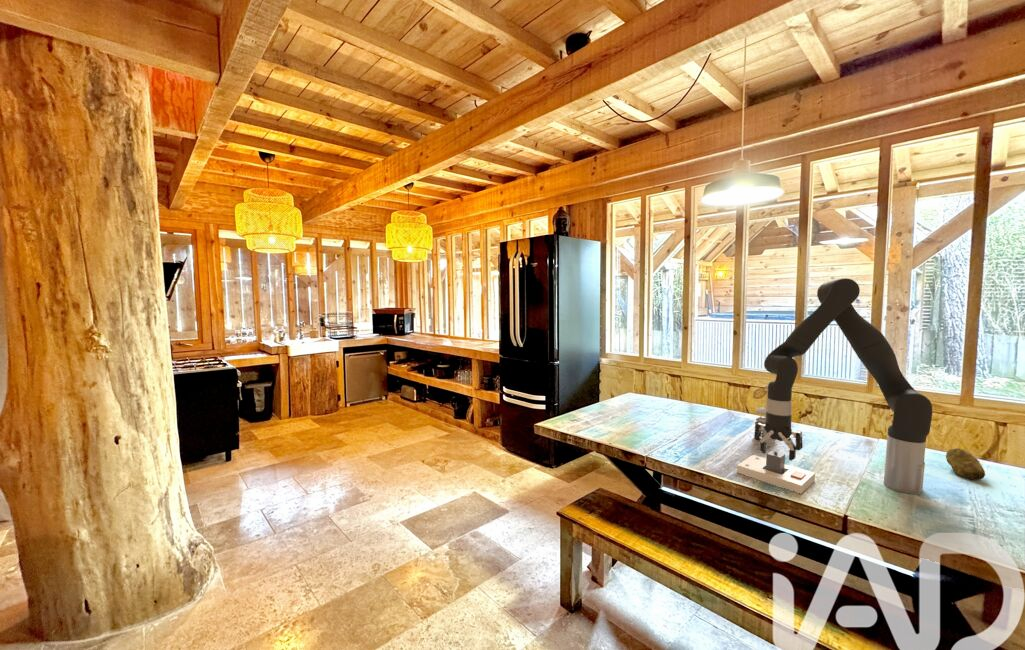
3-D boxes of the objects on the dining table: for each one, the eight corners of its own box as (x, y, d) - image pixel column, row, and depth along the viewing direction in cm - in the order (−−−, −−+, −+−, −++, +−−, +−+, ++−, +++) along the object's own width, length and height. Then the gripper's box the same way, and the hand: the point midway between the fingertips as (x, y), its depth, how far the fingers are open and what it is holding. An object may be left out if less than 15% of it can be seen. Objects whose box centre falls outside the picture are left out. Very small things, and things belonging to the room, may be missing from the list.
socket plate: (814, 481, 143) (815, 471, 142) (801, 494, 134) (801, 483, 134) (752, 462, 158) (753, 453, 158) (736, 472, 149) (737, 463, 149)
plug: (783, 475, 146) (785, 452, 145) (779, 479, 143) (780, 455, 142) (770, 471, 149) (771, 448, 148) (765, 475, 146) (766, 451, 146)
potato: (951, 477, 144) (953, 455, 144) (942, 464, 155) (944, 444, 154) (986, 484, 139) (988, 461, 139) (975, 470, 150) (977, 449, 149)
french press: (780, 442, 178) (783, 385, 176) (773, 449, 170) (776, 390, 168) (755, 436, 185) (757, 382, 183) (747, 443, 177) (749, 386, 175)
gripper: (806, 413, 140) (804, 459, 142) (760, 405, 151) (759, 447, 153) (799, 418, 136) (797, 465, 137) (752, 409, 147) (751, 453, 148)
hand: (777, 456), depth 145 cm, fingers open, 8 cm apart
